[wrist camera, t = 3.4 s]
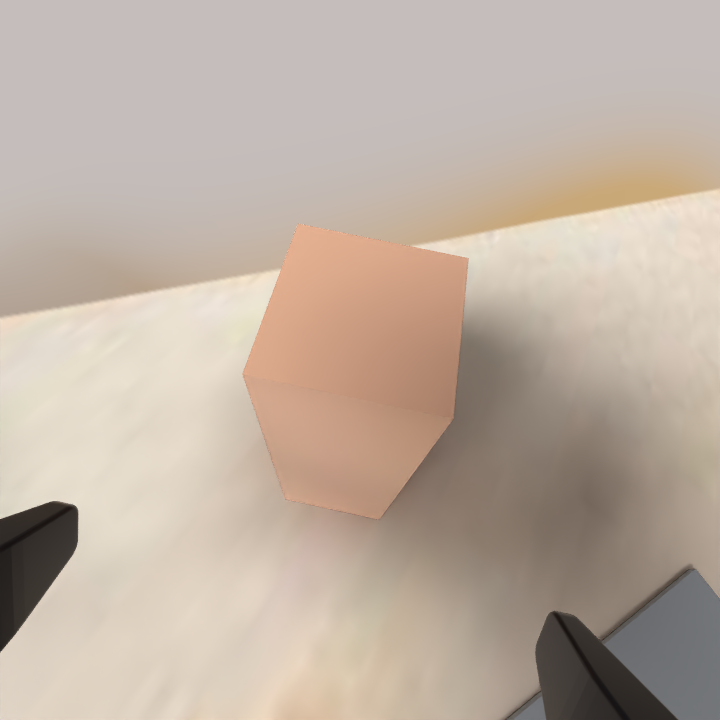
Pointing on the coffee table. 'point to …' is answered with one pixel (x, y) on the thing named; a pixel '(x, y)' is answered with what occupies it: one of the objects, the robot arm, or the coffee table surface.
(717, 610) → the mat
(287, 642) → the coffee table surface
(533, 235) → the coffee table surface
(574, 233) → the coffee table surface
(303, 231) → the block
